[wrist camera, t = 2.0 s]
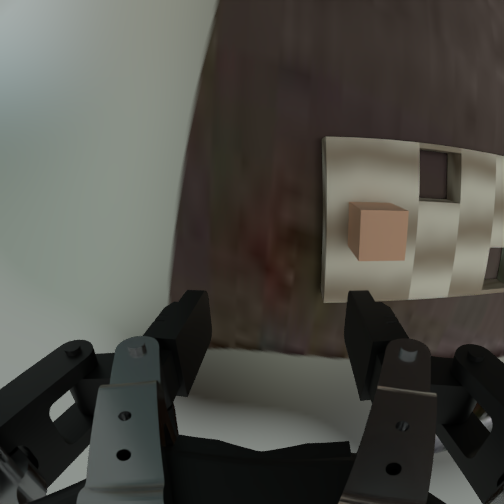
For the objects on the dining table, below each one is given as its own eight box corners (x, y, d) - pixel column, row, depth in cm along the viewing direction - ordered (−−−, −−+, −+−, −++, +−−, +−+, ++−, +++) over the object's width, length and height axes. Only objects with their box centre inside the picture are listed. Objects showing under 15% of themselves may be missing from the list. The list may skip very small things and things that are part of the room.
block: (348, 201, 26) (360, 210, 21) (390, 202, 25) (408, 211, 21) (347, 245, 27) (358, 261, 23) (387, 245, 26) (404, 260, 22)
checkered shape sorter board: (321, 139, 27) (330, 133, 21) (536, 166, 24) (566, 170, 18) (320, 290, 32) (327, 317, 26) (523, 279, 28) (548, 297, 22)
